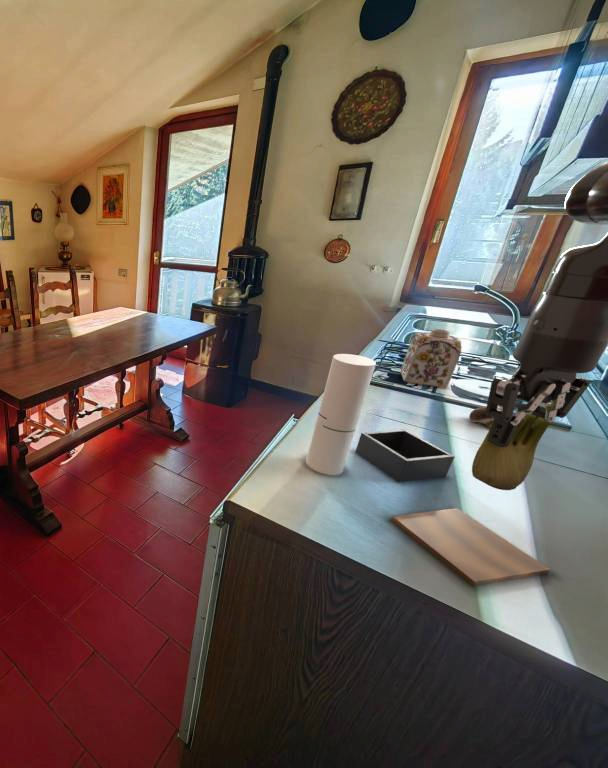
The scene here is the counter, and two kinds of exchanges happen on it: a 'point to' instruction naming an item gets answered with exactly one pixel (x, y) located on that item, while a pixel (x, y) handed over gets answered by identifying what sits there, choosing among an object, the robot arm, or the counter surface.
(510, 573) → the board
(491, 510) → the counter surface
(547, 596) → the counter surface
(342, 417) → the cylindrical container
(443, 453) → the bin
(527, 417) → the fennel bulb
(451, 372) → the decorative jar
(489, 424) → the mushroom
